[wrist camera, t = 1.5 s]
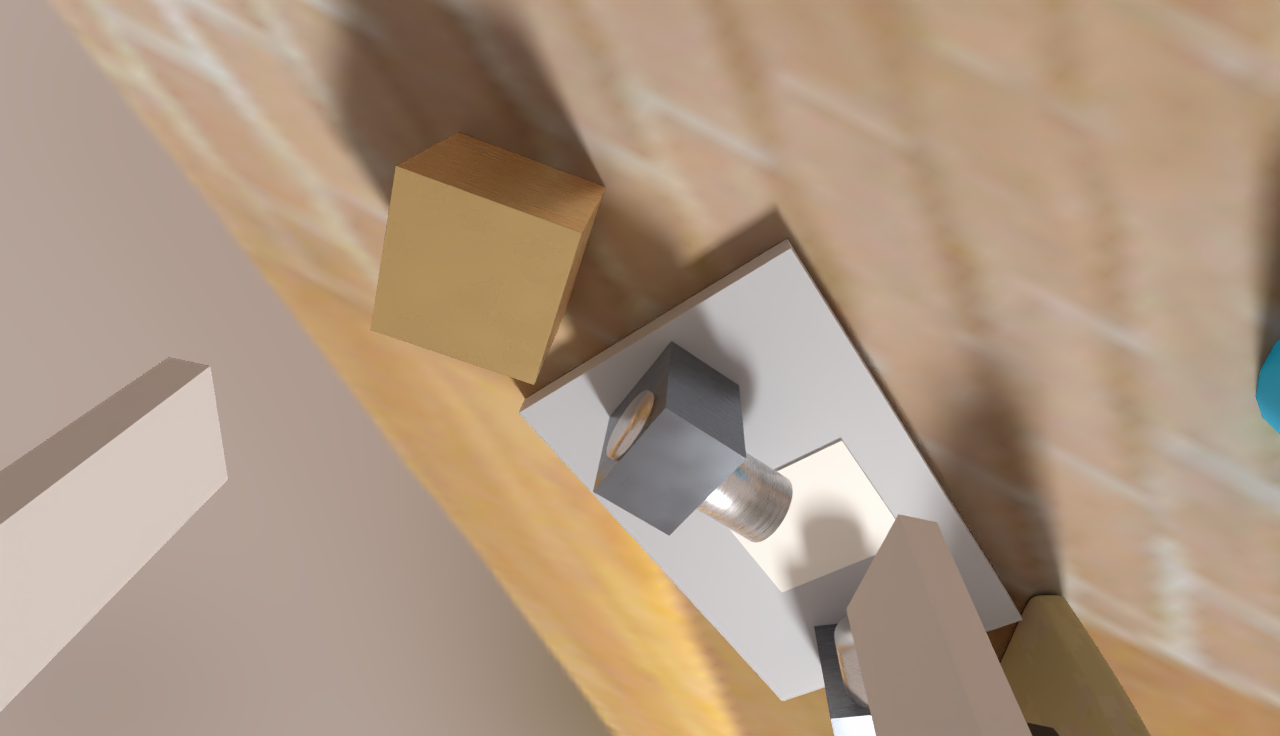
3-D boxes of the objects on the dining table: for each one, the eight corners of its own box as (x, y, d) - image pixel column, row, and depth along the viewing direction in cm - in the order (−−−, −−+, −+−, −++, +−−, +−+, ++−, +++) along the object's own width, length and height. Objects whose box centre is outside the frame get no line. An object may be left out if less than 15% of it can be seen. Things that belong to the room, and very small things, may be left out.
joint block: (432, 269, 28) (370, 329, 23) (458, 132, 25) (395, 165, 20) (564, 315, 29) (534, 385, 23) (605, 186, 26) (581, 233, 21)
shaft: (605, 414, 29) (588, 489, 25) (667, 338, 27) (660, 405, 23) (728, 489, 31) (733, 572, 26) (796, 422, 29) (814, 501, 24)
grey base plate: (524, 399, 31) (518, 414, 30) (787, 238, 26) (791, 249, 25) (780, 682, 39) (782, 702, 38) (1013, 601, 35) (1023, 621, 33)
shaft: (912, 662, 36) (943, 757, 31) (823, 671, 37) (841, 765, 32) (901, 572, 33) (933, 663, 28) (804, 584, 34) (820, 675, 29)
